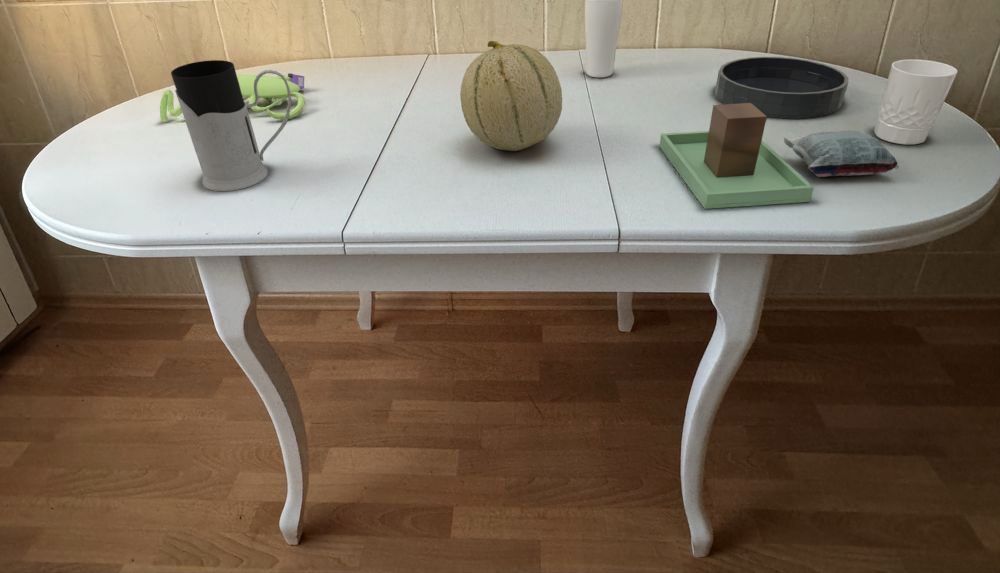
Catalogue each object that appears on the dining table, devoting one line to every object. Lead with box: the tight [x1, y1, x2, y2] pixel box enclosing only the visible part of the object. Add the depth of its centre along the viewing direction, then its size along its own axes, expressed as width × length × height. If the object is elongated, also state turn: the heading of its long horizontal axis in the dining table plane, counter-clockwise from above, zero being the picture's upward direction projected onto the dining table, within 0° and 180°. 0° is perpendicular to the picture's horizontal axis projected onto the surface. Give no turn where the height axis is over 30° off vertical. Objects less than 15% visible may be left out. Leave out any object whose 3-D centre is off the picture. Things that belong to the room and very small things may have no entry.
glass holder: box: [170, 59, 292, 192], centre depth 84 cm, size 9×14×15 cm, turn 111°
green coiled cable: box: [159, 72, 306, 123], centre depth 111 cm, size 18×27×6 cm
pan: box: [714, 56, 849, 120], centre depth 106 cm, size 20×20×4 cm
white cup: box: [873, 58, 958, 145], centre depth 89 cm, size 8×8×10 cm
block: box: [704, 103, 768, 178], centre depth 81 cm, size 5×5×8 cm
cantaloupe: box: [459, 40, 563, 152], centre depth 89 cm, size 15×15×15 cm
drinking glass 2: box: [584, 0, 624, 79], centre depth 116 cm, size 7×7×15 cm
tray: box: [659, 130, 815, 210], centre depth 83 cm, size 19×13×2 cm
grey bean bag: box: [783, 130, 900, 178], centre depth 82 cm, size 9×12×5 cm
